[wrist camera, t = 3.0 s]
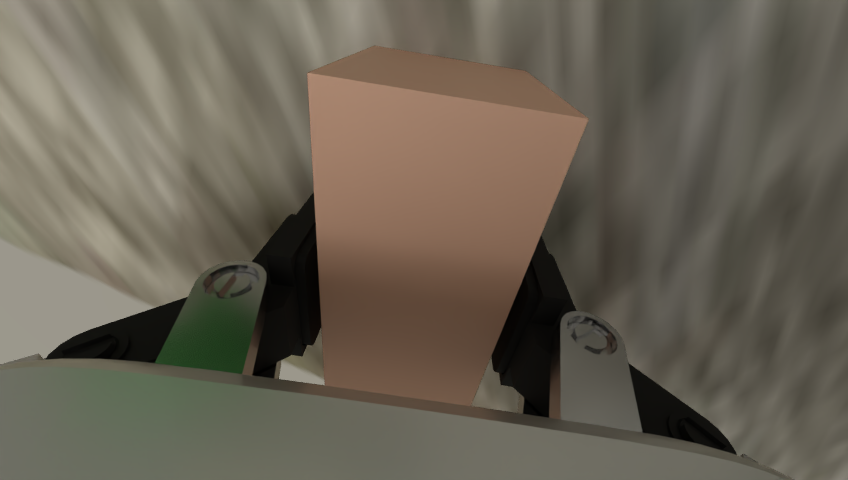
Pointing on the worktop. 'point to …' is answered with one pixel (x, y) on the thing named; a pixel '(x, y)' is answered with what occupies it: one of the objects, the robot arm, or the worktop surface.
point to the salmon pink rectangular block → (427, 213)
